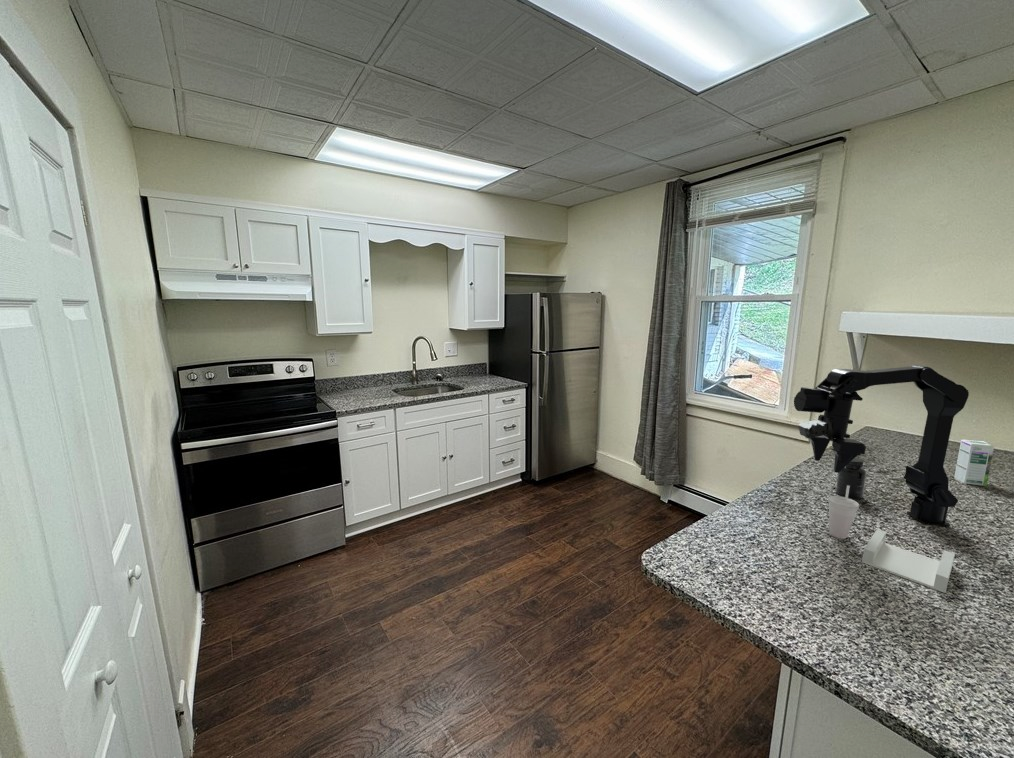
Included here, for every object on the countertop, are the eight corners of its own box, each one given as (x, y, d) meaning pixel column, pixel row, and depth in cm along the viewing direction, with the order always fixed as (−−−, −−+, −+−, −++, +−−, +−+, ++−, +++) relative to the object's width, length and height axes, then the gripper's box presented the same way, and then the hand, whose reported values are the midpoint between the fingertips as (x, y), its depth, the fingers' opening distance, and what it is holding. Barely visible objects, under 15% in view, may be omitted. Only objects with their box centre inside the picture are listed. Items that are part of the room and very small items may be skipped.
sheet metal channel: (874, 541, 105) (877, 529, 105) (952, 567, 95) (955, 553, 94) (861, 562, 96) (864, 548, 96) (945, 593, 86) (948, 578, 85)
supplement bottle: (856, 491, 134) (862, 457, 132) (867, 501, 127) (873, 464, 125) (831, 488, 136) (836, 454, 134) (840, 497, 130) (845, 461, 128)
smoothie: (859, 543, 104) (868, 491, 102) (831, 540, 106) (839, 489, 103) (844, 530, 111) (852, 481, 108) (818, 527, 112) (825, 479, 109)
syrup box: (964, 483, 140) (972, 443, 138) (953, 477, 146) (961, 438, 143) (986, 486, 138) (995, 445, 136) (974, 479, 144) (983, 440, 141)
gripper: (788, 404, 125) (780, 452, 128) (825, 420, 107) (815, 476, 110) (828, 407, 124) (818, 455, 126) (873, 424, 105) (860, 480, 108)
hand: (826, 466), depth 118 cm, fingers open, 9 cm apart
